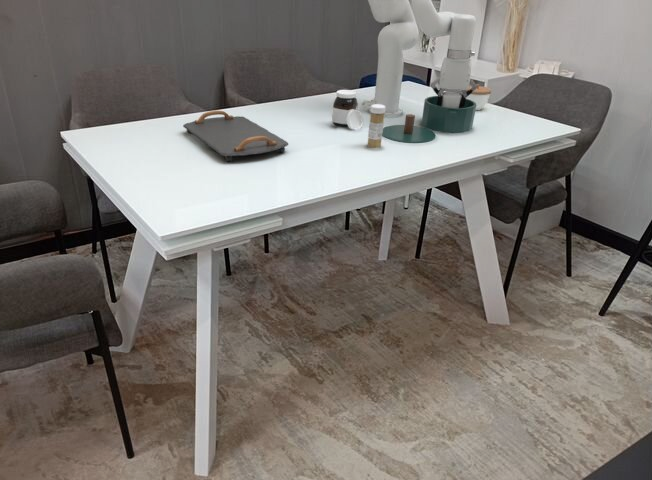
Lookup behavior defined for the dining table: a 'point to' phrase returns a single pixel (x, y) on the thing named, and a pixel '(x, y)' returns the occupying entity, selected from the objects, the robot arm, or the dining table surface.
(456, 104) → the white cup
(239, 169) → the dining table surface
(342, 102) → the spread jar
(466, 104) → the tin
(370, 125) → the sprinkles bottle
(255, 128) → the serving tray
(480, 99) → the white lidded jar
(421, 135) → the tin lid
